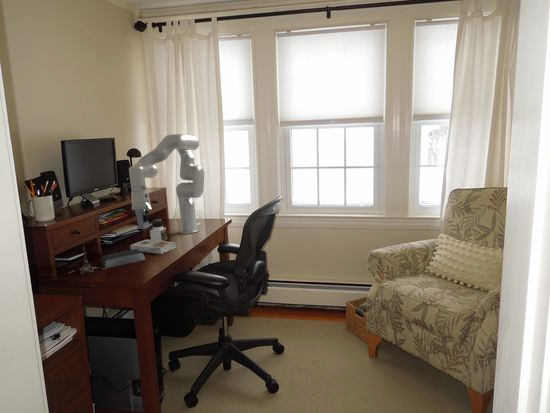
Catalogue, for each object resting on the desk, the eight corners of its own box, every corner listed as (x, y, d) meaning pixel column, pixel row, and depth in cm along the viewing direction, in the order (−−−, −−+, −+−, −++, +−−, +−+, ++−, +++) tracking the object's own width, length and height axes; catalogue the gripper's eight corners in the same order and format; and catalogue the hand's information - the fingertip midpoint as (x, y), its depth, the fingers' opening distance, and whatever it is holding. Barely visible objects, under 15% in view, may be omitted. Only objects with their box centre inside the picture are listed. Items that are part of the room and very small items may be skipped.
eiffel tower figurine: (108, 269, 193) (105, 242, 190) (92, 276, 183) (88, 248, 181) (84, 267, 198) (80, 241, 195) (67, 274, 189) (63, 246, 186)
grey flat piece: (147, 244, 232) (146, 239, 231) (176, 247, 221) (175, 242, 221) (131, 250, 221) (130, 244, 221) (161, 253, 211) (160, 248, 210)
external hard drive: (146, 260, 202) (145, 253, 202) (105, 269, 192) (104, 261, 191) (139, 254, 213) (138, 247, 212) (100, 262, 203) (99, 255, 202)
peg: (143, 226, 225) (141, 207, 223) (149, 227, 223) (146, 207, 221) (138, 228, 221) (135, 209, 219) (143, 228, 220) (141, 209, 217)
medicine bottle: (162, 242, 235) (159, 222, 233) (150, 242, 236) (148, 222, 234) (167, 238, 242) (165, 219, 239) (156, 238, 243) (154, 219, 241)
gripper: (155, 187, 217) (159, 220, 221) (132, 187, 225) (137, 219, 229) (144, 190, 211) (149, 223, 214) (122, 189, 219) (126, 222, 222)
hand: (142, 221), depth 221 cm, fingers closed on peg, 4 cm apart
